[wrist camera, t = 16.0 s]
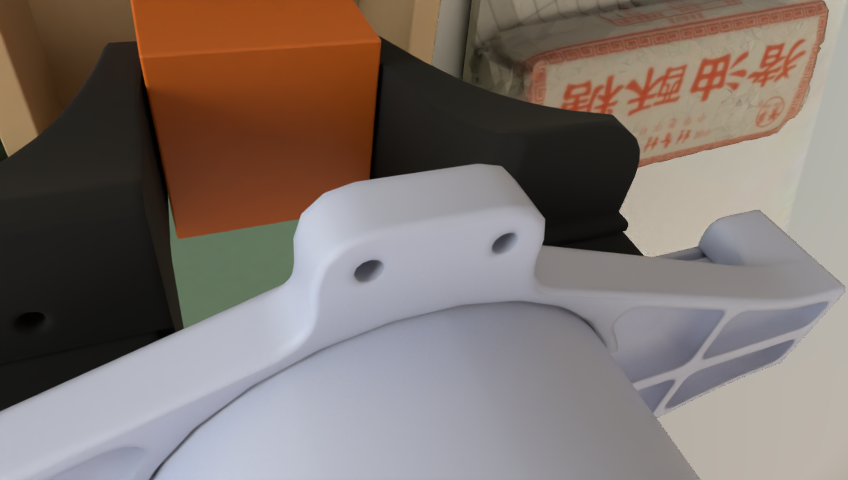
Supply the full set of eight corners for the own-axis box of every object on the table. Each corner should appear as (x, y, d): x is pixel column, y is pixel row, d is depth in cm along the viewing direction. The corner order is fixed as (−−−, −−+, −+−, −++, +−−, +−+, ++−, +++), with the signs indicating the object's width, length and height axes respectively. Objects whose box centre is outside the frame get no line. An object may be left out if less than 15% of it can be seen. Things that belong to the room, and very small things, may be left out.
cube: (158, 128, 15) (178, 240, 12) (122, -43, 12) (139, 55, 9) (320, 111, 16) (367, 209, 14) (322, -46, 13) (382, 40, 11)
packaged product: (487, 245, 27) (525, 36, 20) (445, 179, 30) (464, -22, 23) (790, 165, 33) (903, -22, 26) (727, 116, 36) (813, -64, 29)
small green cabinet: (-29, 38, 19) (-62, 197, 14) (392, 17, 23) (478, 129, 19) (84, 320, 28) (89, 474, 23) (369, 264, 33) (422, 381, 28)
